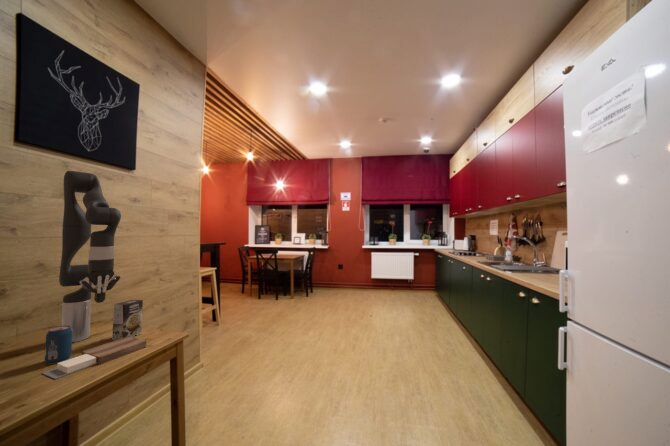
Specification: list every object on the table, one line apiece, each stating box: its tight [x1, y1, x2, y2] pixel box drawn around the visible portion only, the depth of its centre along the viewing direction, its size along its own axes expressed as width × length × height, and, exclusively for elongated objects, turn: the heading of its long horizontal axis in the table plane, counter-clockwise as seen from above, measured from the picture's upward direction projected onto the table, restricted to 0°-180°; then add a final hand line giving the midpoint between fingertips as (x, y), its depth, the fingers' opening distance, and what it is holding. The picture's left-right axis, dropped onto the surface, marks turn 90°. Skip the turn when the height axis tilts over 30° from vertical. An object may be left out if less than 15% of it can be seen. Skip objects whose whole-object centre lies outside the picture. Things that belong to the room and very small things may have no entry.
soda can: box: [44, 325, 73, 365], centre depth 99 cm, size 7×7×12 cm
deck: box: [81, 336, 147, 365], centre depth 106 cm, size 12×16×2 cm
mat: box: [41, 362, 99, 381], centre depth 93 cm, size 9×12×1 cm
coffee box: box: [111, 299, 144, 341], centre depth 122 cm, size 9×6×16 cm
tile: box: [56, 354, 96, 373], centre depth 94 cm, size 7×8×2 cm
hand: (99, 302), depth 103 cm, fingers closed
